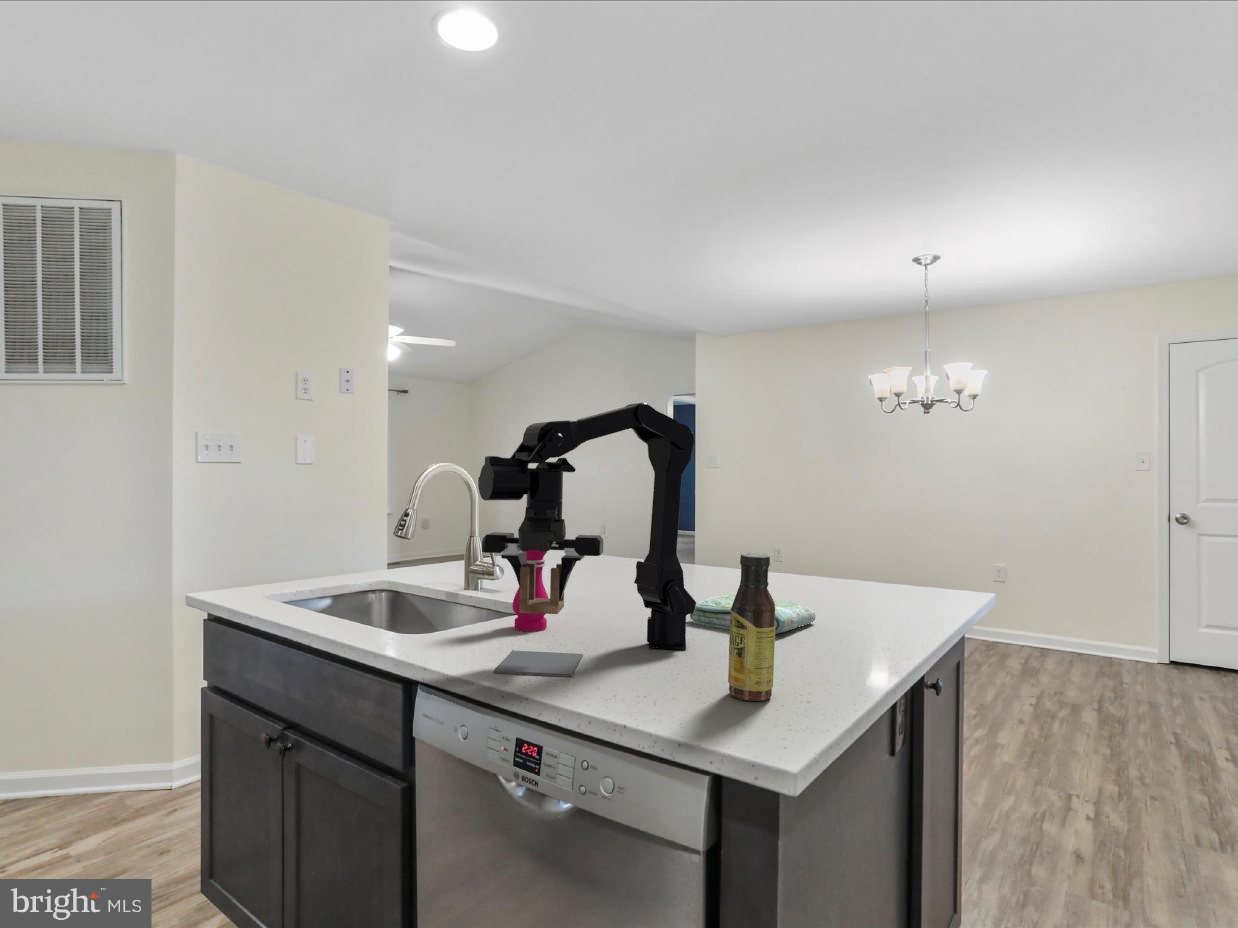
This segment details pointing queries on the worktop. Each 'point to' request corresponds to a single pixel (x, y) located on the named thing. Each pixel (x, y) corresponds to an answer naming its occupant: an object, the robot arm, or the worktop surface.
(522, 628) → the pepper mill
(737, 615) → the sauce bottle
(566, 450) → the robot arm
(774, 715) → the worktop surface
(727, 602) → the towel
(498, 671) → the mat
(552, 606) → the stool
